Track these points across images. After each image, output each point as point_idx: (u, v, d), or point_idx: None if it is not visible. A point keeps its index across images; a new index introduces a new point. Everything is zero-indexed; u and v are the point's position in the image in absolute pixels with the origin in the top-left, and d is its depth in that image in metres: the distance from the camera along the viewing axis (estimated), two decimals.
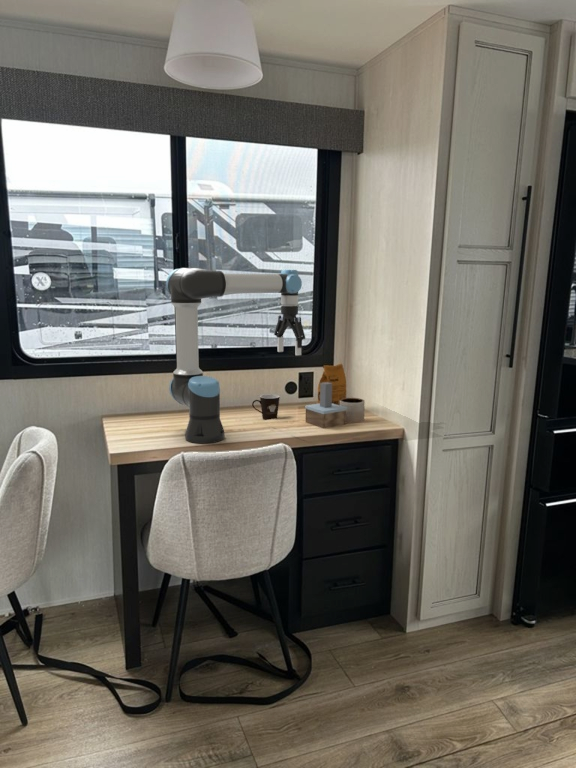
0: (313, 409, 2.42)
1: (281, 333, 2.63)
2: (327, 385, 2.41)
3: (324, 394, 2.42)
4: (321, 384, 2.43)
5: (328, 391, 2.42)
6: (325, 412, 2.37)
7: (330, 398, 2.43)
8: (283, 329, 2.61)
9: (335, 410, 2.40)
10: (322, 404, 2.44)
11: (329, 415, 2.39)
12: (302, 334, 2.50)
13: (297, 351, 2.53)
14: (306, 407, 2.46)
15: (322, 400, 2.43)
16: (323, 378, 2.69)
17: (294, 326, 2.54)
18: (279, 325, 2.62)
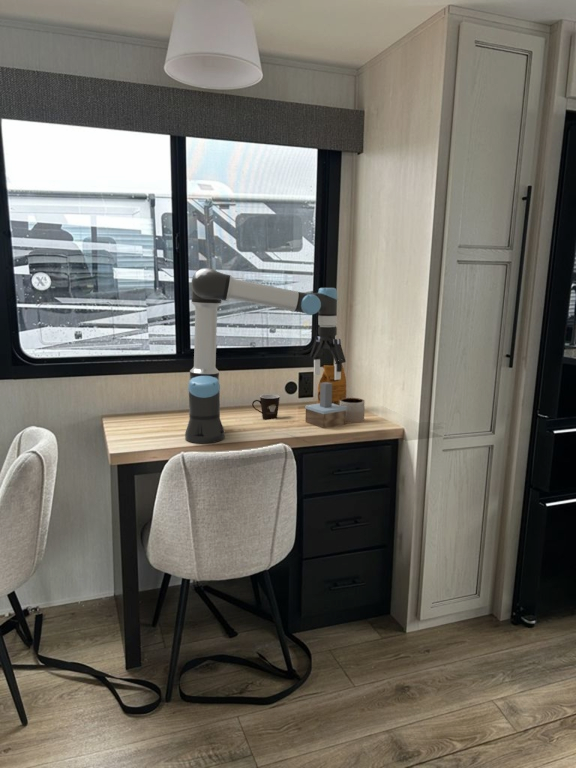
0: (313, 409, 2.42)
1: (318, 355, 2.46)
2: (327, 385, 2.41)
3: (324, 394, 2.42)
4: (321, 384, 2.43)
5: (328, 391, 2.42)
6: (325, 412, 2.37)
7: (330, 398, 2.43)
8: (320, 351, 2.44)
9: (335, 410, 2.40)
10: (322, 404, 2.44)
11: (329, 415, 2.39)
12: (342, 357, 2.33)
13: (336, 375, 2.36)
14: (306, 407, 2.46)
15: (322, 400, 2.43)
16: (323, 378, 2.69)
17: (333, 348, 2.37)
18: (316, 347, 2.46)
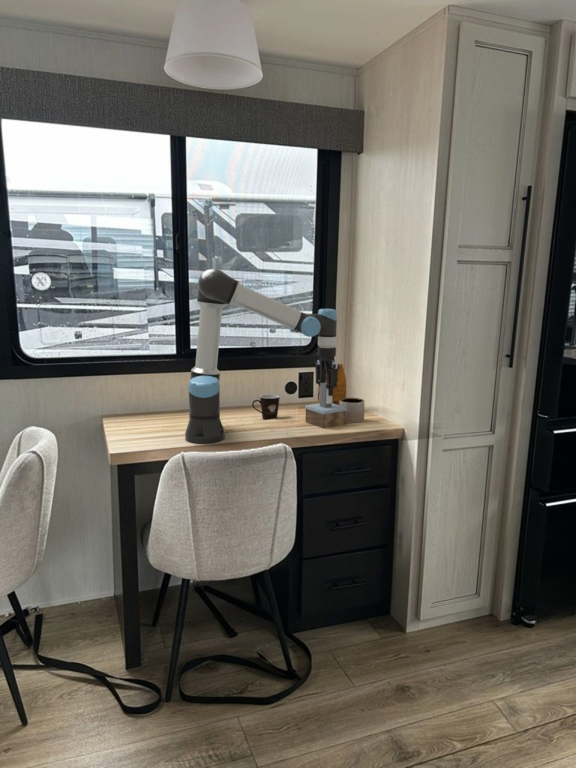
0: (313, 409, 2.42)
1: (323, 380, 2.45)
2: (327, 385, 2.41)
3: (324, 394, 2.42)
4: (321, 384, 2.43)
5: None
6: (325, 412, 2.37)
7: None
8: (323, 374, 2.44)
9: (335, 410, 2.40)
10: (322, 404, 2.44)
11: (329, 415, 2.39)
12: (335, 382, 2.39)
13: (328, 399, 2.42)
14: (306, 407, 2.46)
15: (322, 400, 2.43)
16: None
17: (329, 371, 2.40)
18: (318, 371, 2.46)
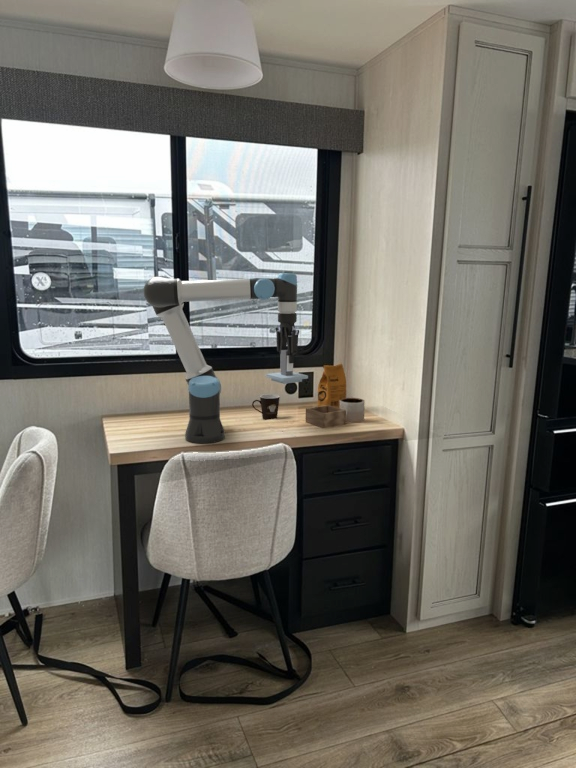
0: (273, 377, 2.35)
1: (283, 347, 2.38)
2: (287, 352, 2.34)
3: (285, 361, 2.35)
4: (282, 351, 2.36)
5: None
6: (285, 379, 2.30)
7: None
8: (284, 341, 2.37)
9: (295, 378, 2.33)
10: (283, 372, 2.37)
11: (329, 415, 2.39)
12: (295, 349, 2.32)
13: (288, 367, 2.35)
14: (267, 375, 2.39)
15: (283, 368, 2.37)
16: (323, 378, 2.69)
17: (290, 338, 2.33)
18: (279, 338, 2.39)
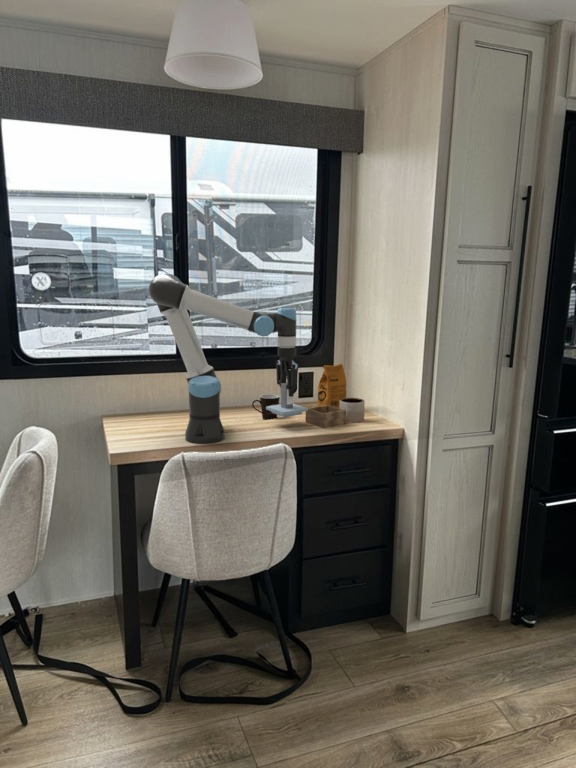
0: (273, 410, 2.37)
1: (283, 380, 2.40)
2: (287, 385, 2.37)
3: (285, 395, 2.37)
4: (282, 384, 2.39)
5: None
6: (285, 413, 2.33)
7: None
8: (284, 374, 2.39)
9: (296, 411, 2.36)
10: (283, 405, 2.39)
11: (329, 415, 2.39)
12: (295, 383, 2.34)
13: (288, 400, 2.37)
14: (267, 408, 2.41)
15: (283, 401, 2.39)
16: (323, 378, 2.69)
17: (289, 371, 2.36)
18: (279, 371, 2.41)
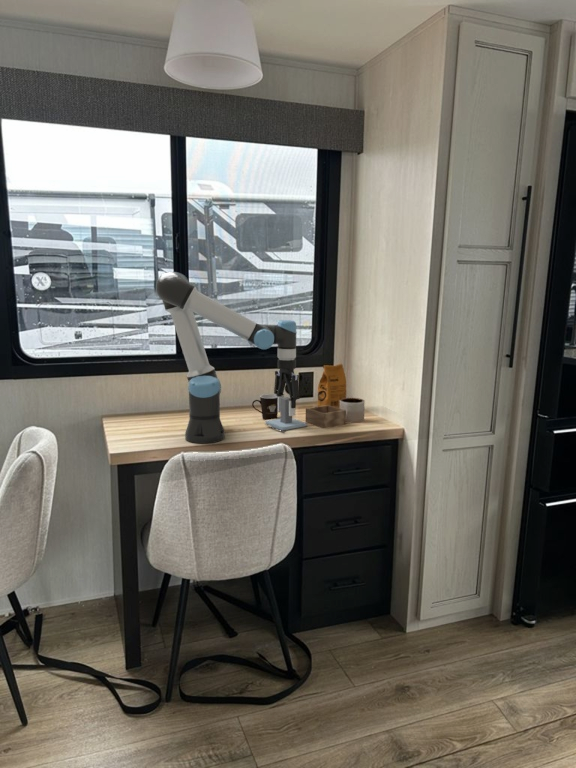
0: (273, 425, 2.39)
1: (281, 391, 2.42)
2: (287, 400, 2.38)
3: (284, 410, 2.39)
4: (281, 399, 2.40)
5: (288, 407, 2.39)
6: (284, 428, 2.34)
7: None
8: (282, 385, 2.41)
9: (295, 426, 2.37)
10: (282, 420, 2.41)
11: (329, 415, 2.39)
12: (297, 394, 2.34)
13: (291, 411, 2.37)
14: (266, 423, 2.42)
15: (282, 416, 2.40)
16: (323, 378, 2.69)
17: (290, 383, 2.36)
18: (277, 381, 2.43)
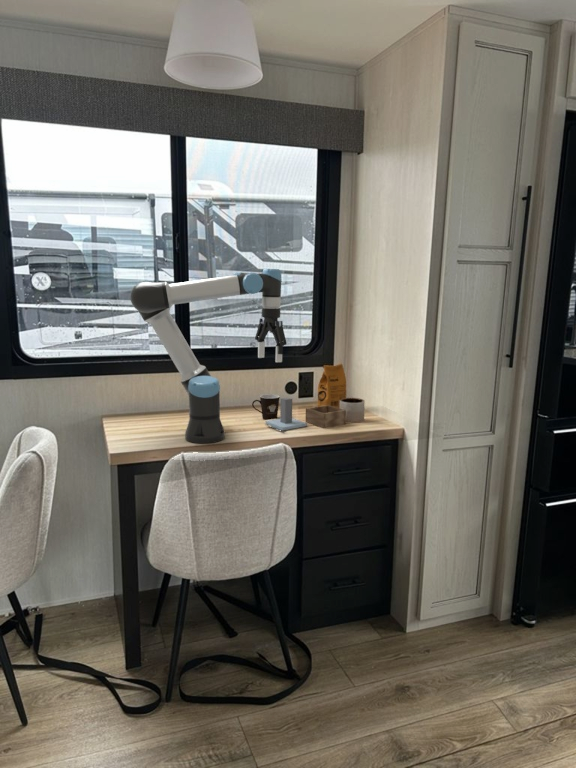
0: (273, 425, 2.39)
1: (262, 337, 2.43)
2: (287, 401, 2.38)
3: (284, 410, 2.39)
4: (281, 399, 2.40)
5: (288, 407, 2.39)
6: (284, 428, 2.34)
7: (290, 414, 2.40)
8: (264, 333, 2.41)
9: (295, 426, 2.37)
10: (282, 420, 2.41)
11: (329, 415, 2.39)
12: (283, 339, 2.30)
13: (277, 358, 2.33)
14: (266, 423, 2.42)
15: (282, 416, 2.40)
16: (323, 378, 2.69)
17: (275, 330, 2.33)
18: (260, 329, 2.42)
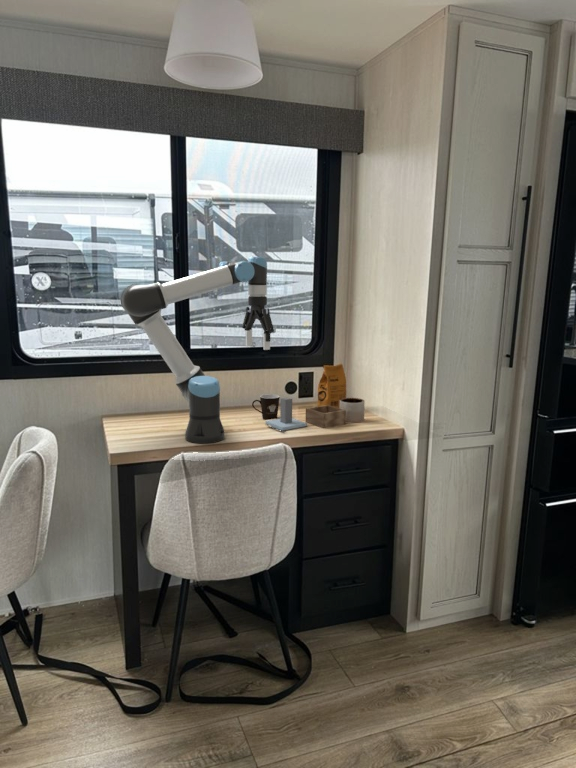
0: (273, 425, 2.39)
1: (249, 326, 2.44)
2: (287, 401, 2.38)
3: (284, 410, 2.39)
4: (281, 399, 2.40)
5: (288, 407, 2.39)
6: (284, 428, 2.34)
7: (290, 414, 2.40)
8: (251, 322, 2.42)
9: (295, 426, 2.37)
10: (282, 420, 2.41)
11: (329, 415, 2.39)
12: (270, 327, 2.32)
13: (265, 345, 2.34)
14: (266, 423, 2.42)
15: (282, 416, 2.40)
16: (323, 378, 2.69)
17: (262, 318, 2.35)
18: (247, 317, 2.44)
